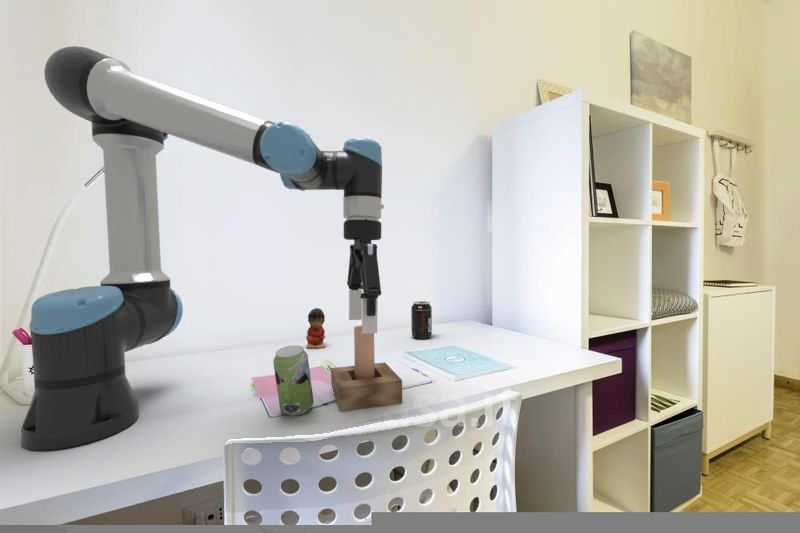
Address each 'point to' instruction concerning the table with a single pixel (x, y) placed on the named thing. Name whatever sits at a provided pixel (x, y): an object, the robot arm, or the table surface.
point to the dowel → (364, 354)
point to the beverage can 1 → (293, 380)
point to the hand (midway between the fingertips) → (361, 325)
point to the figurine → (316, 329)
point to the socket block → (365, 388)
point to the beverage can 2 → (421, 320)
